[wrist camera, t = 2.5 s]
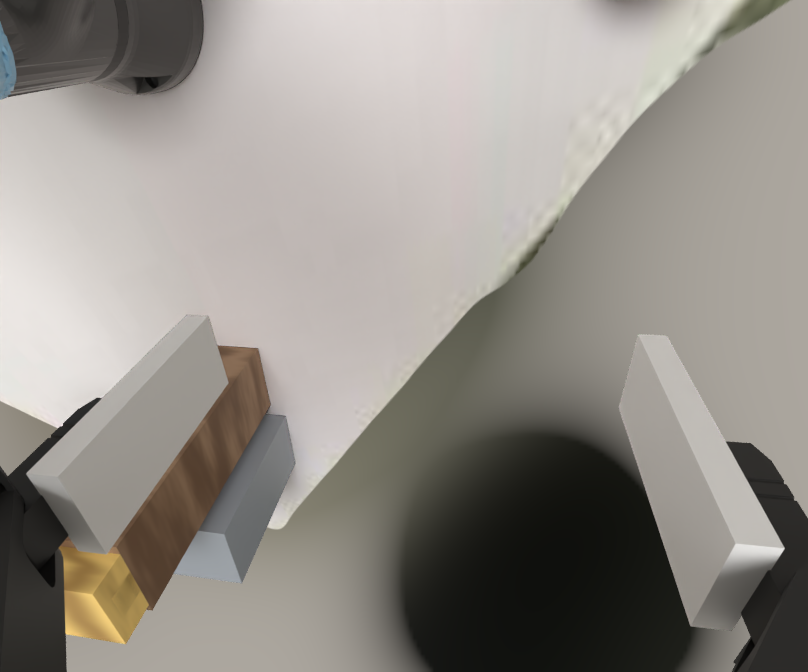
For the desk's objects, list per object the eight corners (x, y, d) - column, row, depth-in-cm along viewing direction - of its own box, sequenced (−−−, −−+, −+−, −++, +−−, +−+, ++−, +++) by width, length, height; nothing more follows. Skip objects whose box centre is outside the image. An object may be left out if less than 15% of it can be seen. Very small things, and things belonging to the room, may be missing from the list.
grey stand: (213, 454, 80) (140, 569, 63) (197, 408, 74) (113, 520, 58) (295, 463, 78) (241, 583, 61) (285, 416, 72) (224, 534, 56)
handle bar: (-68, 571, 49) (-103, 606, 46) (-115, 521, 45) (-157, 556, 42) (149, 604, 46) (126, 644, 43) (120, 554, 42) (92, 594, 39)
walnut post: (194, 398, 73) (41, 593, 48) (176, 342, 68) (-8, 530, 43) (270, 404, 71) (152, 610, 47) (257, 348, 66) (116, 547, 41)
